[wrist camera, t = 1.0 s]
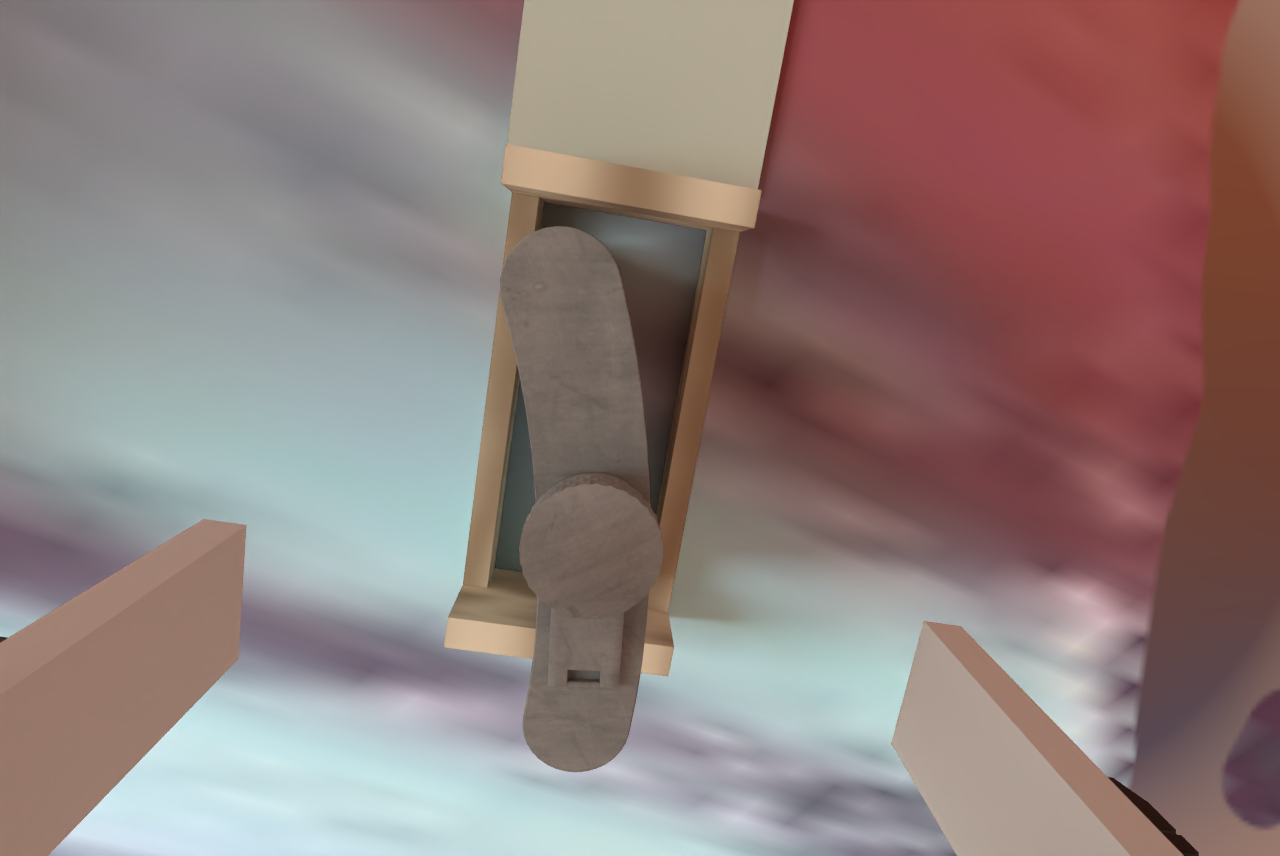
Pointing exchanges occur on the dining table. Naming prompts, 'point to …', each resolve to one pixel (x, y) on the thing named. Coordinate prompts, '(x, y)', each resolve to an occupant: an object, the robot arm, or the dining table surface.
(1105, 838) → the robot arm
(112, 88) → the dining table surface
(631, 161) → the mat
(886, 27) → the dining table surface
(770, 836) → the dining table surface
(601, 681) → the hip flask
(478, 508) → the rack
